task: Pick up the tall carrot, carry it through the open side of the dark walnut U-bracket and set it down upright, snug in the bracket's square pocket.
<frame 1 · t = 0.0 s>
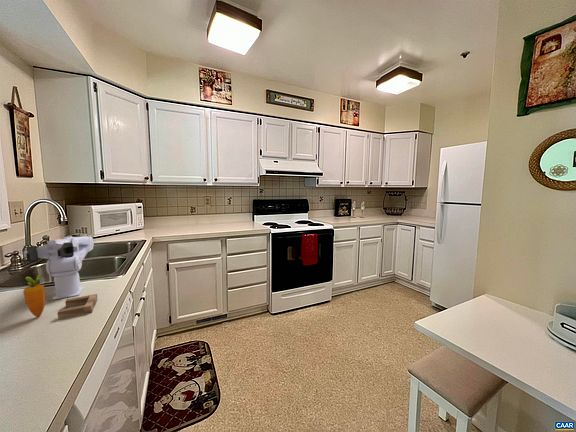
hand: (43, 255, 83), 22 cm above the worktop, tool horizontal, fingers open, 7 cm apart
carrot: (38, 317, 85), on the worktop
walnut bracket: (75, 309, 90), on the worktop
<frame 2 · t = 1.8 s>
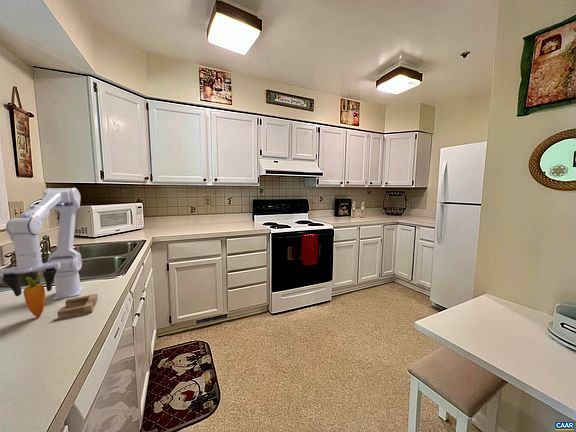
hand: (34, 292, 83), 9 cm above the worktop, tool pointing down, fingers open, 7 cm apart
nothing on the worktop moved.
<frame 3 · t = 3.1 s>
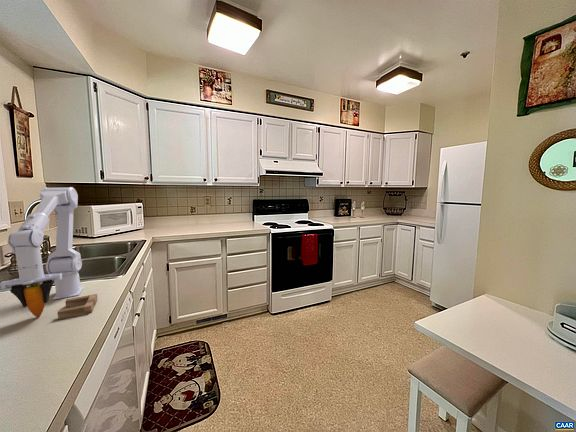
hand: (36, 303, 84), 5 cm above the worktop, tool pointing down, fingers closed on carrot, 4 cm apart
carrot: (38, 317, 85), on the worktop, touching gripper
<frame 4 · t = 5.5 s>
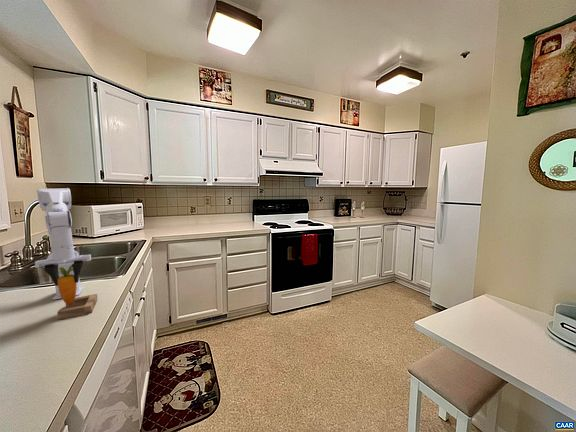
hand: (67, 283, 87), 10 cm above the worktop, tool pointing down, fingers closed on carrot, 5 cm apart
carrot: (70, 306, 88), point 2 cm above the worktop, touching gripper
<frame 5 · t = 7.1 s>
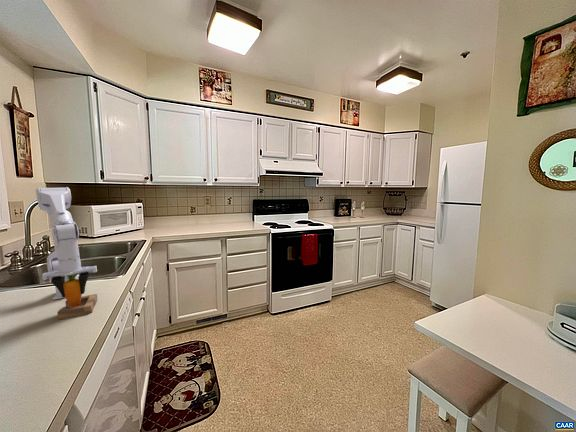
hand: (73, 294, 89), 6 cm above the worktop, tool pointing down, fingers closed on carrot, 4 cm apart
carrot: (75, 310, 89), on the worktop, touching gripper
when the fingers open (5 cm above the worktop, at t = 8.1 s): carrot stays where it is, on the worktop.
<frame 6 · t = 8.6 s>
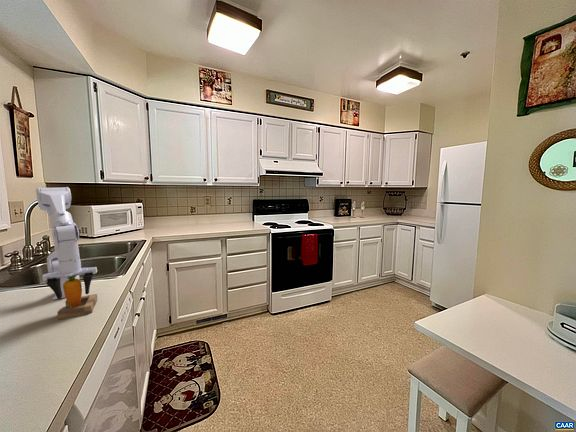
hand: (74, 295, 89), 5 cm above the worktop, tool pointing down, fingers open, 7 cm apart
carrot: (75, 310, 89), on the worktop
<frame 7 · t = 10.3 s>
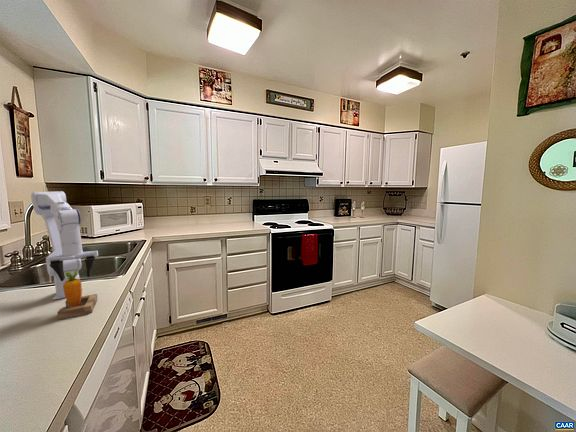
hand: (76, 278, 92), 10 cm above the worktop, tool pointing down, fingers open, 7 cm apart
nothing on the worktop moved.
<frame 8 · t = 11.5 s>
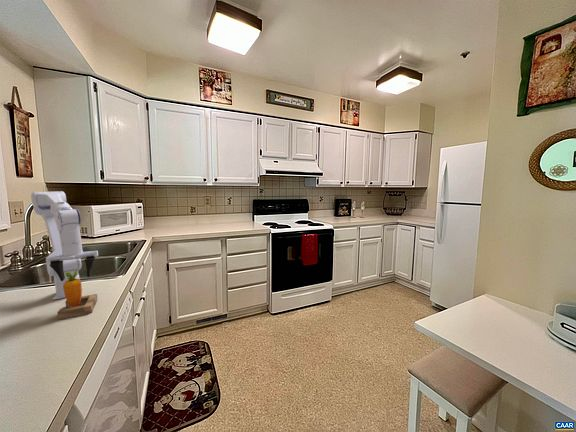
hand: (76, 278, 92), 10 cm above the worktop, tool pointing down, fingers open, 7 cm apart
nothing on the worktop moved.
at the end: carrot 0.2 cm from the walnut bracket (horizontally); carrot on the worktop; carrot tilted 0° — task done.
